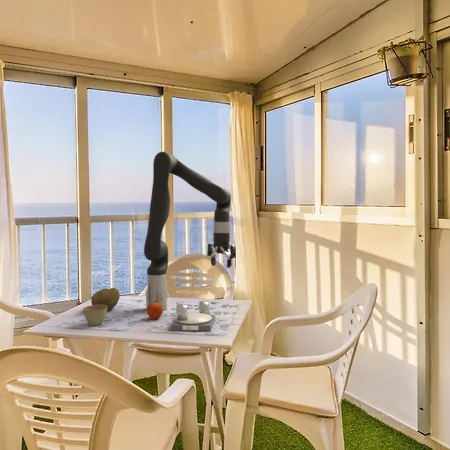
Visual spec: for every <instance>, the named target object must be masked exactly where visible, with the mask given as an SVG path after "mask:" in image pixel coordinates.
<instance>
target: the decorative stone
mask: <svg viewBox="0 0 450 450" xmlns="http://www.w3.org/2000/svg"><path fill="white" fill-rule="evenodd" d="M120 296H121V295H120V291H119V290H118V288H116V287H110V288H102V289H100V290H98V291H96V292H95V293H94V294H93V295H91V300H90V301H91V305H106V306H107V307H108V308H107V311H108V310H110V309H113V308H114V307H115V306H117V305H118V303H119V301H120Z"/></svg>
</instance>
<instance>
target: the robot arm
mask: <svg viewBox="0 0 450 450" xmlns="http://www.w3.org/2000/svg"><path fill="white" fill-rule="evenodd" d="M152 167H153V171H152V172H153V175H152V176H153V179H152V187H151V197H150V203H149V215H148V222H147V224H148V225H147V232H146V235H145V236H146V237H145V240H144V246H143V255H144V257H145V259H146V260H148V261H150V264H149V266H148V267H147V269H146V278H147V279H146V280H147V281H146V283H147V289H146V291H145V296H146V297H145V298H146V303H145V306H146V309H147V308H148V306H149V305H150V304H151V303H159V304H160V305H161V306H162V308H163V312H164V311H166V310H167V309H168V298H167V297H168V287H167V285H168V284H167V282H168V281H167V277H168V275H167V270H168V266H169V248H168V246H167V243H166V242H165V241H163V240H162V233H163V229H164V228H165V225H166V223H167V220H168V218H169V216H170V209H171V196H170V195H171V194H170V188H169V177H170V174H172V175H174V176H176V177H178V178H180V179H182V180H183V181H184V182H186V183H187V184H188V185H189V186H190V187H192V188H194V189H195V190H197V191H199V192H200V193H201V194H204V195H206V197H208V198H209V199H211V200H213V201H214V202H216V204H215V205H216V206H215V210H214V213H213V214H214V215H213V235H212V236H213V237H212V238H213V241H212V242H210V243H208V244H207V252H206V253H207V256H208V257H210V264H211V266H212V267H215V266H216V259H217V258H216V257H217V255H218V254H221V255H224V256H225V257H226V259H227V260H226V268H228V269H229V268H231V267H232V265H233V262H232V261H233V259H236V257H237V254H236V253H237V252H236V250H237V249H236V245H235V244H233V245H232V244H231V245H230V239H231V233H230V232H231V225H230V210H231V203H232V202H231V201H232V196H231V195H232V194H231V192H230V191H229V189H227V188H223V187H221V186H219V185H218V184H216V183H214V182H213V181H212V180H211V179H209V178H207V177H206V176H204V175H203V174H200V173H199V172H197V171H196V170H194V169H191V168H190V167H188V166H187V165H185V164H184V163H183V162H182V161H180V160H179V159H178V158H177V157H176V156H174V154H172V153H170V152H166V151H159V152H158V153H157V154H156V155H155V156H154V158H153V163H152ZM155 301H156V302H155Z"/></svg>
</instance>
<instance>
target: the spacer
mask: <svg viewBox="0 0 450 450" xmlns="http://www.w3.org/2000/svg"><path fill="white" fill-rule="evenodd" d="M198 313H202V314H207V315H210V302H209V301H208V300H200V301H198Z"/></svg>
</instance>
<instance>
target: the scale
mask: <svg viewBox="0 0 450 450" xmlns="http://www.w3.org/2000/svg"><path fill="white" fill-rule="evenodd" d="M187 317H188V319H187V320H185V321H178V320H177V316H176V317H175V319H174V320H173V322H172V323H171V324H170V331H174V332H175V331H177V332H178V331H181V332H182V331H184V332H185V331H187V332H192V331H193V332H195V331H196V332H211V331H212V329H213V326H214V323H215V321H216V314H209V315H207V314H202V313H199V312H195V313H193V312H192V313H187Z"/></svg>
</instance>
